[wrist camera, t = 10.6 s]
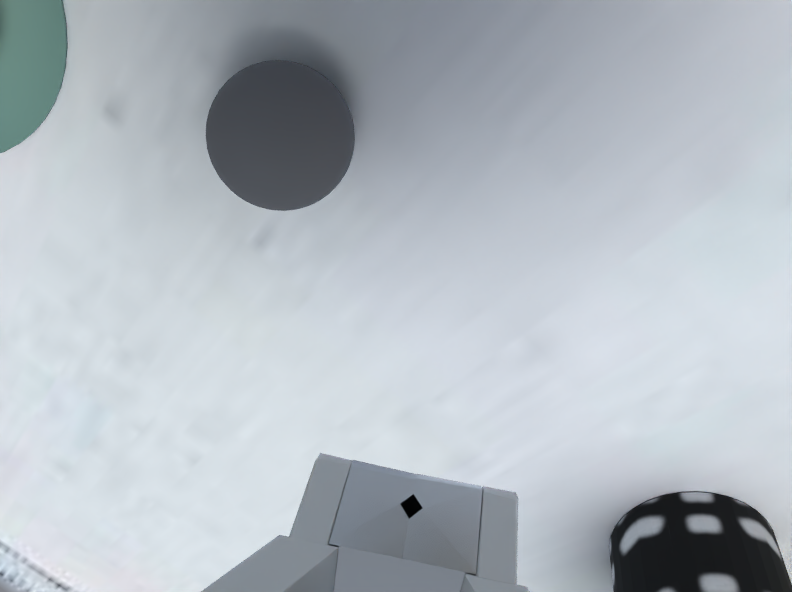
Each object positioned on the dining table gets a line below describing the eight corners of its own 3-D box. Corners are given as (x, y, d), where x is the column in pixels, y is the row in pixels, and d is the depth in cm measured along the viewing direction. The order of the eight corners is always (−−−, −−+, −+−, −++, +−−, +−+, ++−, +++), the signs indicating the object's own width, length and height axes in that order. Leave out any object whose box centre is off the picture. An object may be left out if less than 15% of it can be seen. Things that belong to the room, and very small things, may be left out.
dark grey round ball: (294, 142, 24) (360, 35, 27) (153, 120, 26) (228, 23, 29) (333, 251, 28) (387, 150, 31) (211, 226, 30) (271, 133, 33)
